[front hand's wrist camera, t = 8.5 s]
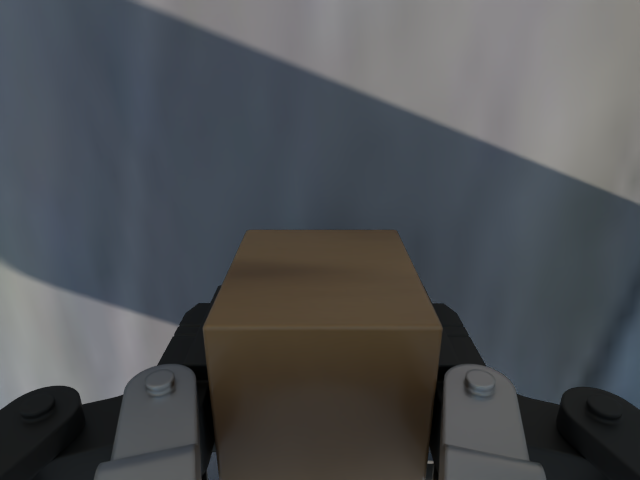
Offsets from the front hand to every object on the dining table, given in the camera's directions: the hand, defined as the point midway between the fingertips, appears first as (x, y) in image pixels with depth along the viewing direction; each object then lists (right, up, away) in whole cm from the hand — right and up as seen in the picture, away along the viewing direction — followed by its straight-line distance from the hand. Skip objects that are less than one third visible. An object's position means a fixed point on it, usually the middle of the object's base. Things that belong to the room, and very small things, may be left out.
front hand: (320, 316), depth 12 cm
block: (0, 0, 0) cm, 0 cm away
